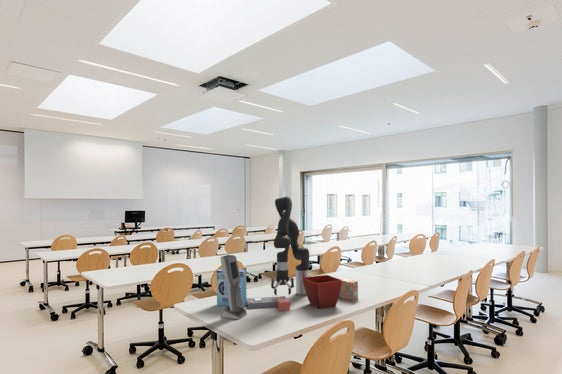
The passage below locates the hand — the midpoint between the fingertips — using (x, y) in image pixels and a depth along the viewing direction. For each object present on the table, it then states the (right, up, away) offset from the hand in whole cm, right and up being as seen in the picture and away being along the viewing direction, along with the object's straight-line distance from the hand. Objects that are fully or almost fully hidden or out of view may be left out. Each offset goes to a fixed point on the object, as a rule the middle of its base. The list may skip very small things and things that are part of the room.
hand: (282, 294), depth 214 cm
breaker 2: (-4, -7, +10) cm, 13 cm away
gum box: (-33, -10, +8) cm, 36 cm away
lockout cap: (+1, -9, 0) cm, 9 cm away
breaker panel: (-10, -9, +9) cm, 16 cm away
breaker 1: (-16, -8, +8) cm, 20 cm away
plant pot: (+26, -9, +6) cm, 28 cm away
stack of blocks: (+42, -10, +24) cm, 49 cm away
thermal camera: (-29, -9, -13) cm, 32 cm away
